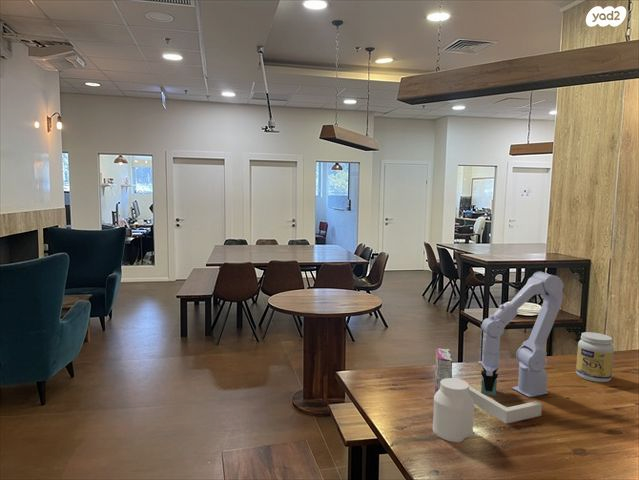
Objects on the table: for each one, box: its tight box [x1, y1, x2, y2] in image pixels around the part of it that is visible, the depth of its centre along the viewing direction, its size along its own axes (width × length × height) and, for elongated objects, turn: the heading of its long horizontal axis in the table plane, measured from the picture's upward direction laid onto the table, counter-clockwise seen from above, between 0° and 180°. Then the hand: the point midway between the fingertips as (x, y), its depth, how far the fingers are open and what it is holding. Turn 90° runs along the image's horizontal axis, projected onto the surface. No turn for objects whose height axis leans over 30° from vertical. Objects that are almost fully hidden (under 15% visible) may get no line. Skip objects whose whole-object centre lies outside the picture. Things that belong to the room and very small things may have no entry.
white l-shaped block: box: [469, 385, 543, 425], centre depth 147 cm, size 15×20×4 cm
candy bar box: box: [434, 347, 453, 395], centre depth 151 cm, size 11×5×16 cm, turn 168°
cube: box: [480, 376, 498, 397], centre depth 158 cm, size 5×5×5 cm
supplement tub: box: [575, 331, 615, 383], centre depth 172 cm, size 12×12×17 cm
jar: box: [432, 377, 475, 443], centre depth 129 cm, size 12×10×15 cm
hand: (488, 387), depth 158 cm, fingers closed on cube, 5 cm apart
